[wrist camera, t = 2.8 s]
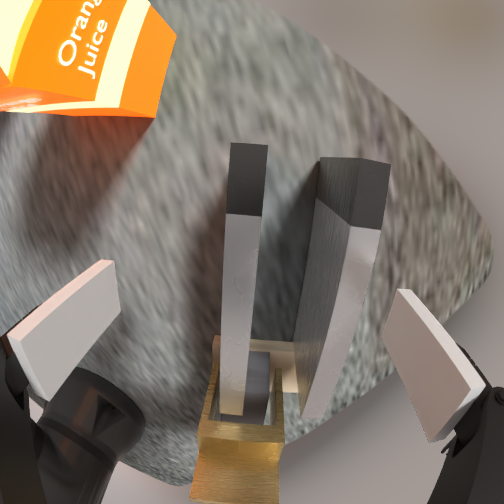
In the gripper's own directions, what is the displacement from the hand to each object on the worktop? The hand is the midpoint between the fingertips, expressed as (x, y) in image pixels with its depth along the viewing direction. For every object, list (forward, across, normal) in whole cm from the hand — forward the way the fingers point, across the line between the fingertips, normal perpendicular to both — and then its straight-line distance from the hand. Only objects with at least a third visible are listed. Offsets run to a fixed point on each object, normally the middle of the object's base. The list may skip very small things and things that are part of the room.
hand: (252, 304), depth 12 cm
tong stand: (+10, -2, +12) cm, 16 cm away
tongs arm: (+10, -5, +2) cm, 12 cm away
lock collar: (+7, 0, +12) cm, 13 cm away
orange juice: (+10, +13, -13) cm, 21 cm away
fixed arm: (+10, +1, +1) cm, 10 cm away
